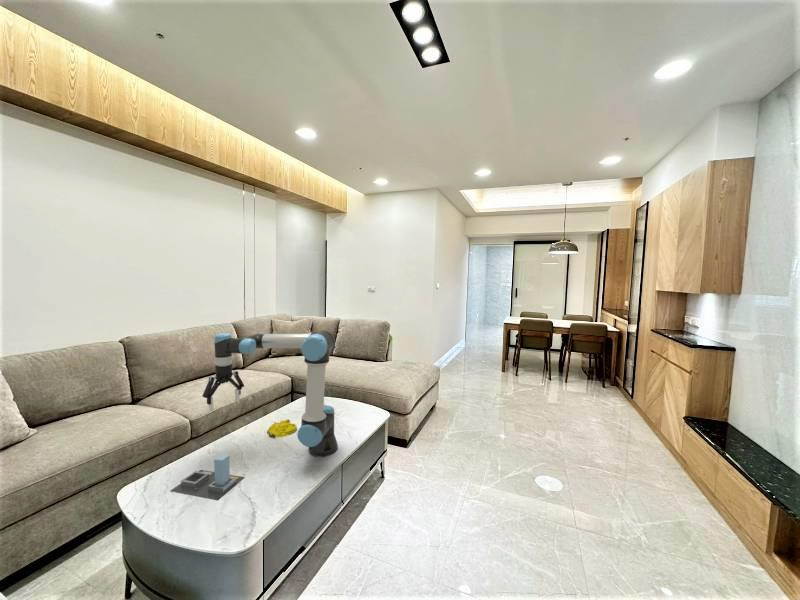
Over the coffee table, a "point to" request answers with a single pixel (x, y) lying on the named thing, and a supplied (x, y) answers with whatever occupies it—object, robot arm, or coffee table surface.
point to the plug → (222, 470)
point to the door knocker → (282, 428)
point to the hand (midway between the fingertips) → (224, 405)
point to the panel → (205, 485)
